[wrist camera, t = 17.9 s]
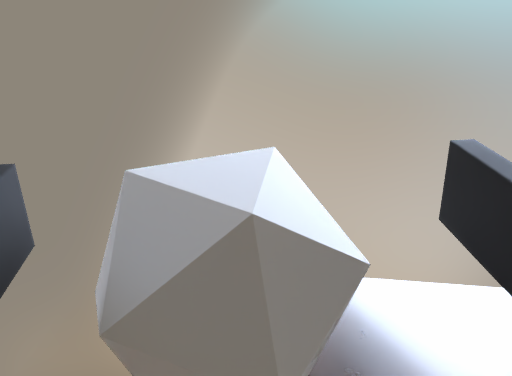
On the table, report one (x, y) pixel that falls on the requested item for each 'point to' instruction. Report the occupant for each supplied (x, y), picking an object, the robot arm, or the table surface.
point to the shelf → (421, 331)
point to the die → (223, 270)
